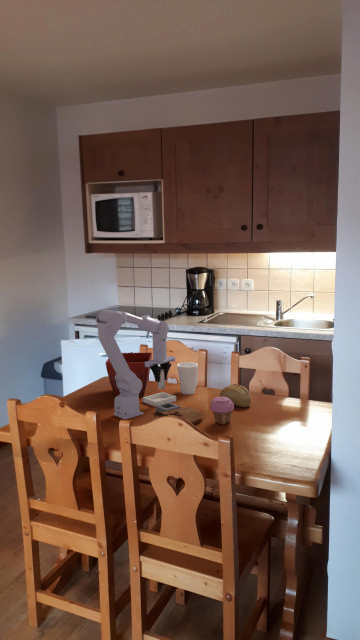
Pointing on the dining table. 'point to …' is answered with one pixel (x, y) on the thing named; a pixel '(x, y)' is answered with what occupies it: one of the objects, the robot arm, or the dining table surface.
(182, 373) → the foam cup
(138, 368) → the plant pot
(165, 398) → the tray
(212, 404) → the cupcake
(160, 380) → the pin
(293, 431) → the dining table surface
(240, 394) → the bread roll
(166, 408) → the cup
